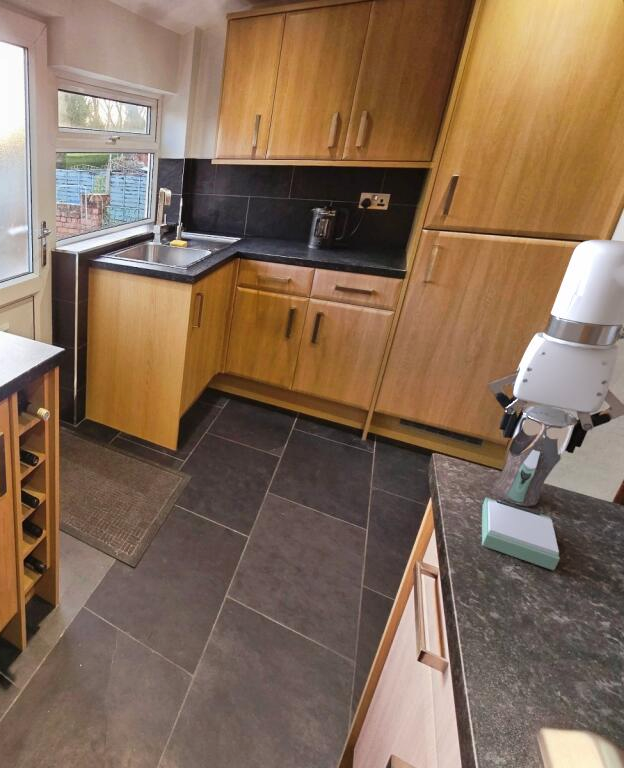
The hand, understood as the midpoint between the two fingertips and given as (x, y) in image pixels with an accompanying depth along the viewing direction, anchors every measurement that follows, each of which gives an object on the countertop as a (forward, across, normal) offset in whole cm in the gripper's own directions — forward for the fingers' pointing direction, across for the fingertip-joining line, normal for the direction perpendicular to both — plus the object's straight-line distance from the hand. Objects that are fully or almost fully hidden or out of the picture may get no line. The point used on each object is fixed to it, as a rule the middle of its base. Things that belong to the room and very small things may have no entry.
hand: (536, 441), depth 77 cm
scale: (+11, 0, +12) cm, 16 cm away
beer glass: (+10, 0, 0) cm, 10 cm away
